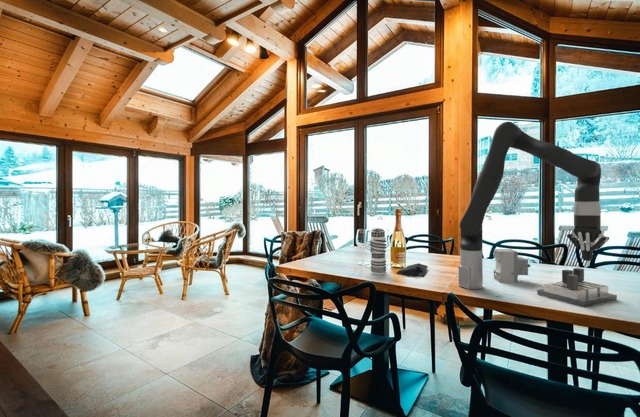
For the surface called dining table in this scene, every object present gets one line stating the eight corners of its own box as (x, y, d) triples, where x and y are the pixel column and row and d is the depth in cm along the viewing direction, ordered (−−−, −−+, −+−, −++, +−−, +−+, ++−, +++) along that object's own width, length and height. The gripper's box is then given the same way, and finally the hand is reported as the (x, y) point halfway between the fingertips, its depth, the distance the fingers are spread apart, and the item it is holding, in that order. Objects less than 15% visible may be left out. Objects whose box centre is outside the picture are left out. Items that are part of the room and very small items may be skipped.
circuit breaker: (532, 283, 148) (531, 251, 148) (499, 282, 151) (498, 251, 151) (525, 279, 155) (524, 249, 155) (493, 278, 158) (493, 248, 158)
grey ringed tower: (390, 273, 174) (389, 228, 174) (378, 275, 169) (377, 229, 168) (378, 270, 182) (378, 227, 181) (366, 272, 176) (366, 228, 176)
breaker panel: (583, 307, 115) (583, 279, 114) (537, 294, 131) (537, 270, 130) (616, 300, 122) (616, 273, 121) (569, 288, 138) (568, 265, 137)
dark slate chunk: (432, 270, 182) (432, 262, 182) (423, 278, 163) (422, 269, 163) (405, 267, 190) (405, 259, 190) (394, 275, 171) (394, 266, 171)
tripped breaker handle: (573, 289, 119) (573, 276, 119) (566, 287, 121) (566, 274, 121) (578, 288, 120) (578, 275, 120) (571, 286, 122) (571, 274, 122)
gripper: (560, 213, 120) (561, 258, 121) (601, 214, 108) (602, 264, 108) (573, 213, 123) (574, 256, 123) (615, 214, 111) (615, 262, 111)
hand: (587, 260), depth 116 cm, fingers closed
